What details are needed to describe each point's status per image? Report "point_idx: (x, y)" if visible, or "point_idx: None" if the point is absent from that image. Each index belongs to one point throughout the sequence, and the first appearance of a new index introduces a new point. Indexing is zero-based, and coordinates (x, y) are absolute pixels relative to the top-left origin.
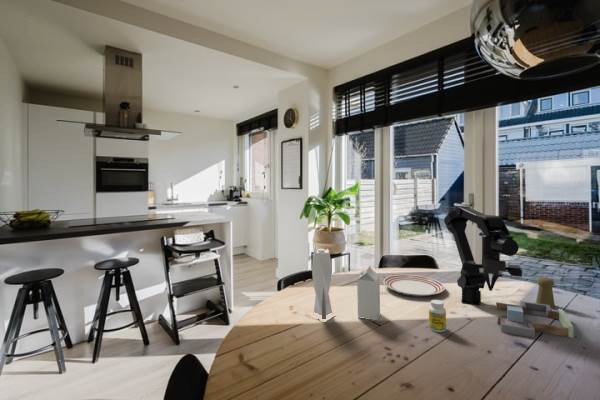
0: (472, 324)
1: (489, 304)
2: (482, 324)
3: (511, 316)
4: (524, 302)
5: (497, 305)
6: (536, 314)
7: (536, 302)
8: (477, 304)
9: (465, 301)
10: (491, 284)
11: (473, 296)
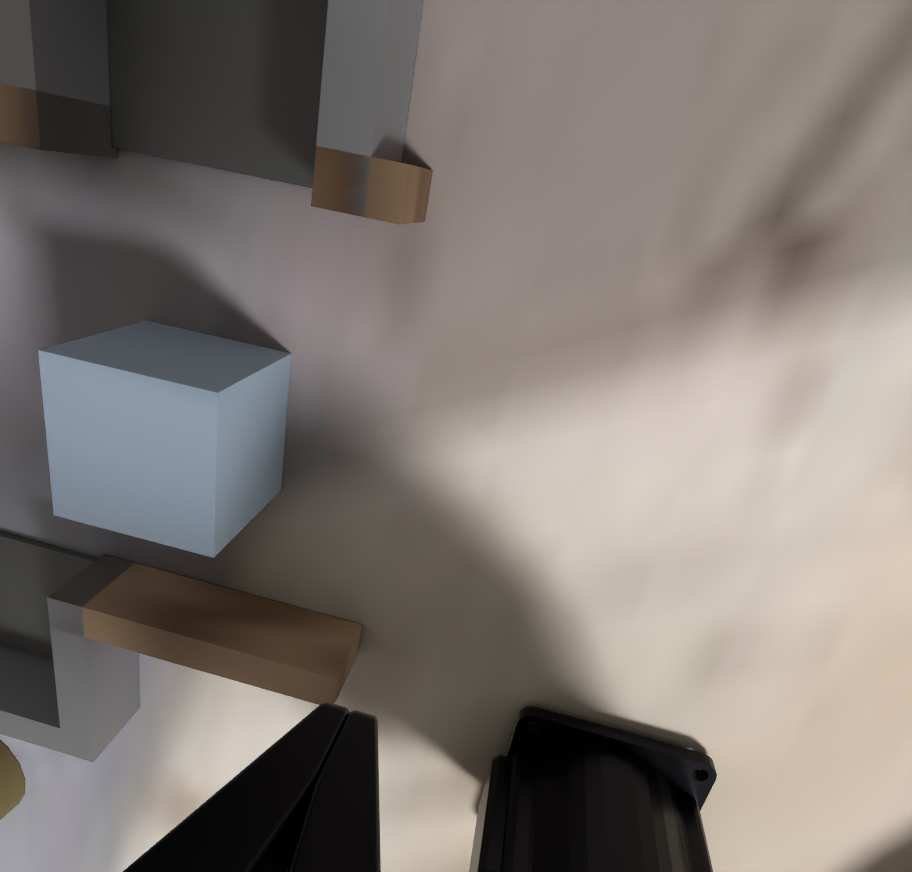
0: (821, 30)
1: (405, 739)
2: (652, 90)
3: (227, 358)
4: (60, 728)
5: (333, 656)
6: (19, 556)
7: (7, 789)
8: (540, 713)
9: (666, 770)
10: (249, 858)
11: (580, 820)
